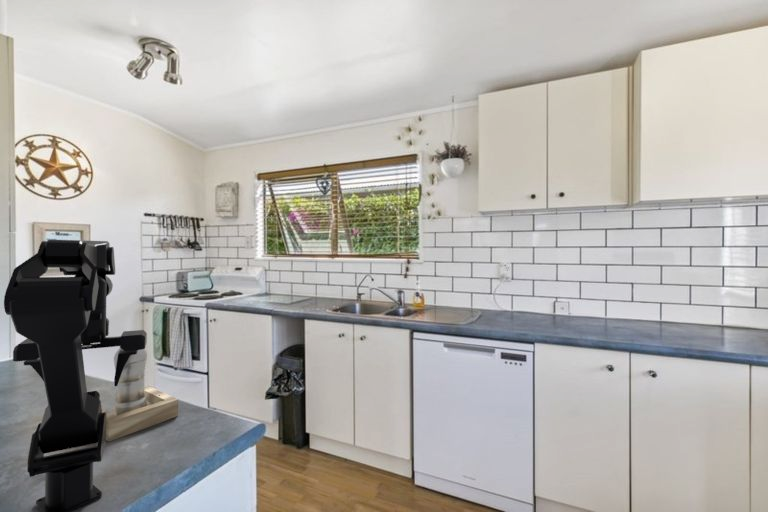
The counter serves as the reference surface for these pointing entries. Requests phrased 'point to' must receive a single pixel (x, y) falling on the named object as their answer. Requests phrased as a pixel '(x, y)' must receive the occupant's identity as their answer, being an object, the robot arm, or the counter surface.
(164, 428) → the counter surface
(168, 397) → the bracket
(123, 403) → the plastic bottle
